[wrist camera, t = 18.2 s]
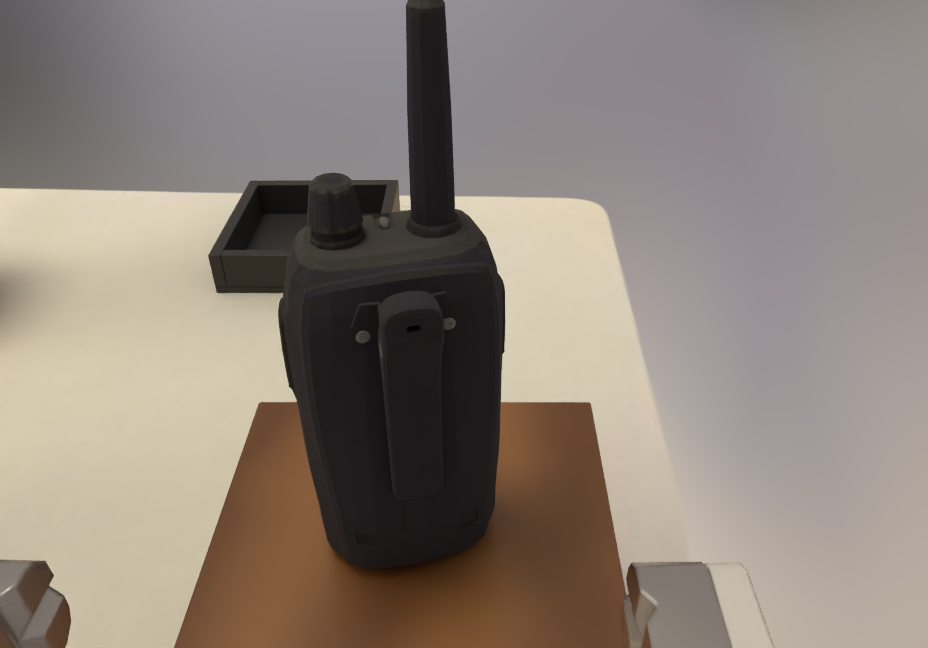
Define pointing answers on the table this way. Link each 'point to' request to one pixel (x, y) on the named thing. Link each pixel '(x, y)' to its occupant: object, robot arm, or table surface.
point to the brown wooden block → (422, 584)
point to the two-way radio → (399, 344)
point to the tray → (277, 231)
